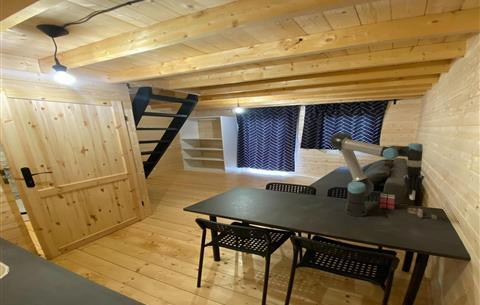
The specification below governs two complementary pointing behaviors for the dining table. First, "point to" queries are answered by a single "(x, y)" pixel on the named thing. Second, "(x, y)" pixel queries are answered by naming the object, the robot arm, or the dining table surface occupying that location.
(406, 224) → the dining table surface
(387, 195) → the puzzle cube
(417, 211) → the dial
